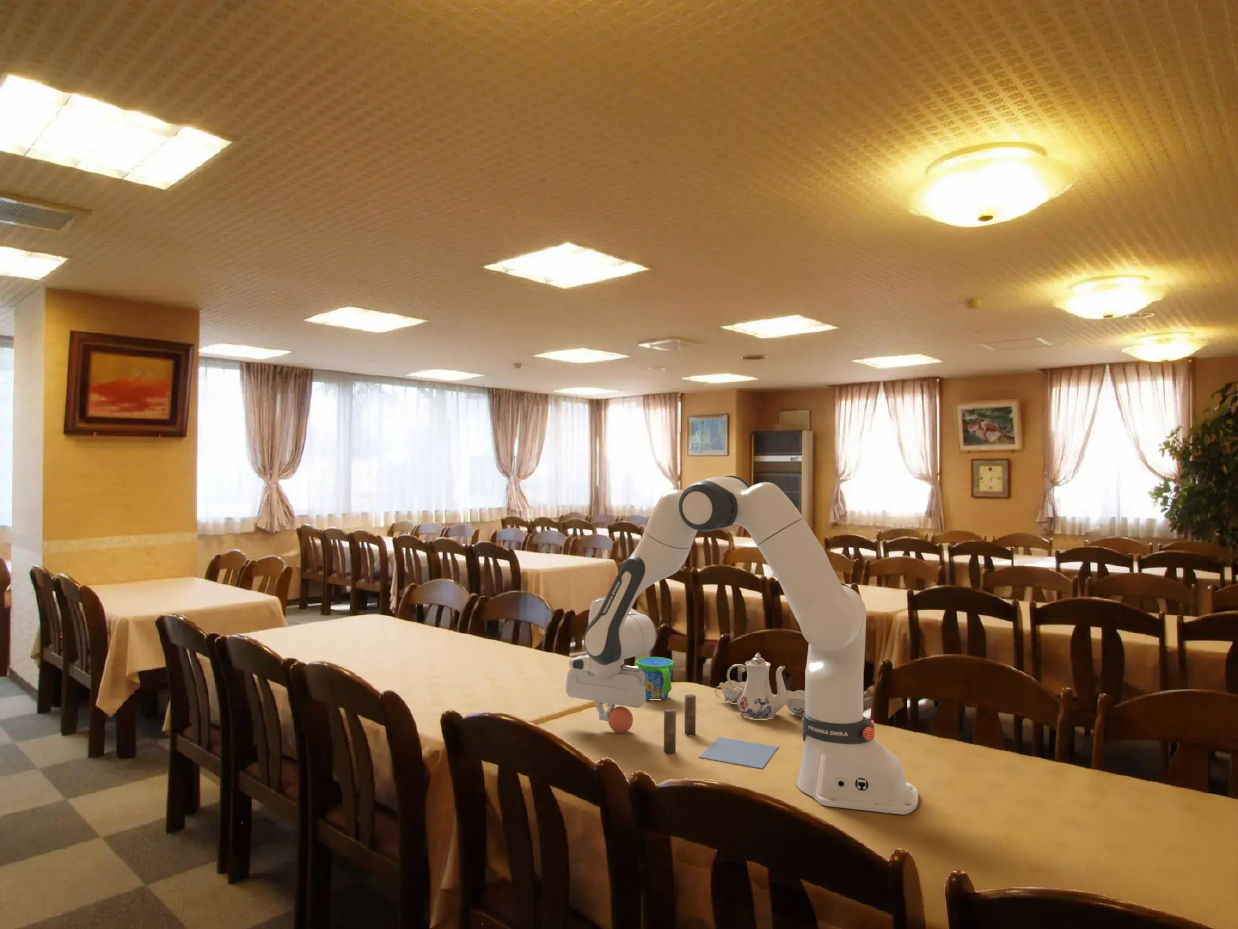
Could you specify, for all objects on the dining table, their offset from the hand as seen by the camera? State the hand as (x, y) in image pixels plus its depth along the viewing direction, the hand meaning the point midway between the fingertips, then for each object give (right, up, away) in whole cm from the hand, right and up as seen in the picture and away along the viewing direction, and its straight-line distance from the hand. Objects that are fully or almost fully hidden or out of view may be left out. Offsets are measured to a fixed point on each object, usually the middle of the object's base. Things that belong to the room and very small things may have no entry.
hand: (605, 720), depth 177 cm
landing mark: (+30, -2, -15) cm, 33 cm away
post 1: (+15, -2, -14) cm, 21 cm away
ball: (+4, +1, -2) cm, 4 cm away
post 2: (+20, -2, -3) cm, 21 cm away
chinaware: (+41, -4, +14) cm, 43 cm away
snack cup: (+13, -3, +27) cm, 30 cm away
